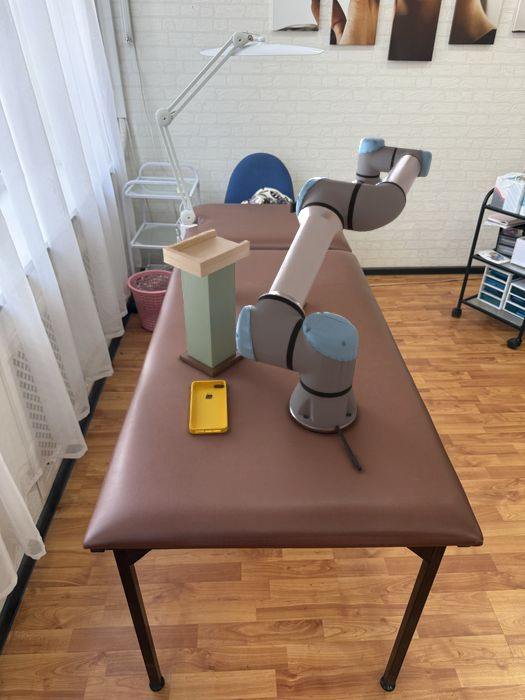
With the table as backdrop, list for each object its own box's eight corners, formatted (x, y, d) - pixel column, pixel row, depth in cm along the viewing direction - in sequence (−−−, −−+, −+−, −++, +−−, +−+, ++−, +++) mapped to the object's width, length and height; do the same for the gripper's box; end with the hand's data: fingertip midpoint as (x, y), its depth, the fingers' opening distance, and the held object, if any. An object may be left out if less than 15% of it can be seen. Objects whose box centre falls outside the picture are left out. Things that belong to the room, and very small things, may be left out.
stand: (216, 336, 141) (212, 228, 124) (249, 352, 135) (249, 241, 117) (173, 362, 131) (162, 248, 113) (206, 380, 125) (200, 263, 107)
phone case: (189, 434, 109) (189, 429, 109) (192, 385, 123) (191, 381, 123) (227, 432, 110) (227, 428, 109) (225, 384, 124) (225, 379, 123)
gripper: (383, 217, 153) (346, 237, 139) (315, 199, 166) (275, 216, 152) (387, 192, 149) (349, 210, 135) (317, 176, 162) (276, 191, 148)
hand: (310, 213), depth 144 cm, fingers open, 13 cm apart
